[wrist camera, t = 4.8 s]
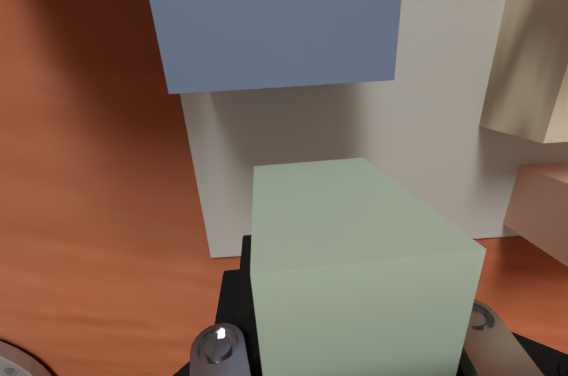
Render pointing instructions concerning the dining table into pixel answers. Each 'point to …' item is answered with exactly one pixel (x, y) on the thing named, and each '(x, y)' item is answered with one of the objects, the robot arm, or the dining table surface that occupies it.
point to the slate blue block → (275, 42)
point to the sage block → (356, 274)
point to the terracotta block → (541, 207)
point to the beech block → (530, 72)
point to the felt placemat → (374, 128)
